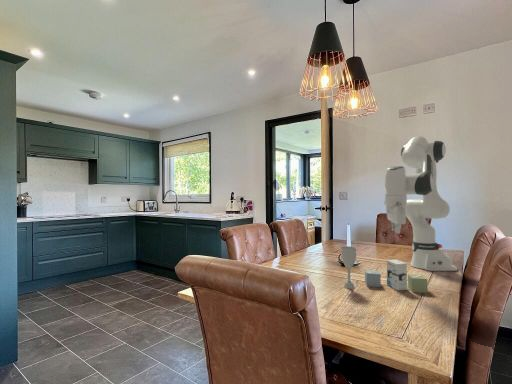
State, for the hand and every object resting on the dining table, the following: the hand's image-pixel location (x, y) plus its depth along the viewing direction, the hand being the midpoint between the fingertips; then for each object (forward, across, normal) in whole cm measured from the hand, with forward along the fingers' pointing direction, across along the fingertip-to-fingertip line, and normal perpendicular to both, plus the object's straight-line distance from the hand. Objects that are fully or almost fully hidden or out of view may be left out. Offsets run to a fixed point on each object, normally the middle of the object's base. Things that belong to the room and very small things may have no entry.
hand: (396, 232), depth 131 cm
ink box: (+25, 0, 0) cm, 25 cm away
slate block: (+25, +2, +10) cm, 27 cm away
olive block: (+25, -2, -8) cm, 27 cm away
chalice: (+25, -4, +21) cm, 33 cm away
